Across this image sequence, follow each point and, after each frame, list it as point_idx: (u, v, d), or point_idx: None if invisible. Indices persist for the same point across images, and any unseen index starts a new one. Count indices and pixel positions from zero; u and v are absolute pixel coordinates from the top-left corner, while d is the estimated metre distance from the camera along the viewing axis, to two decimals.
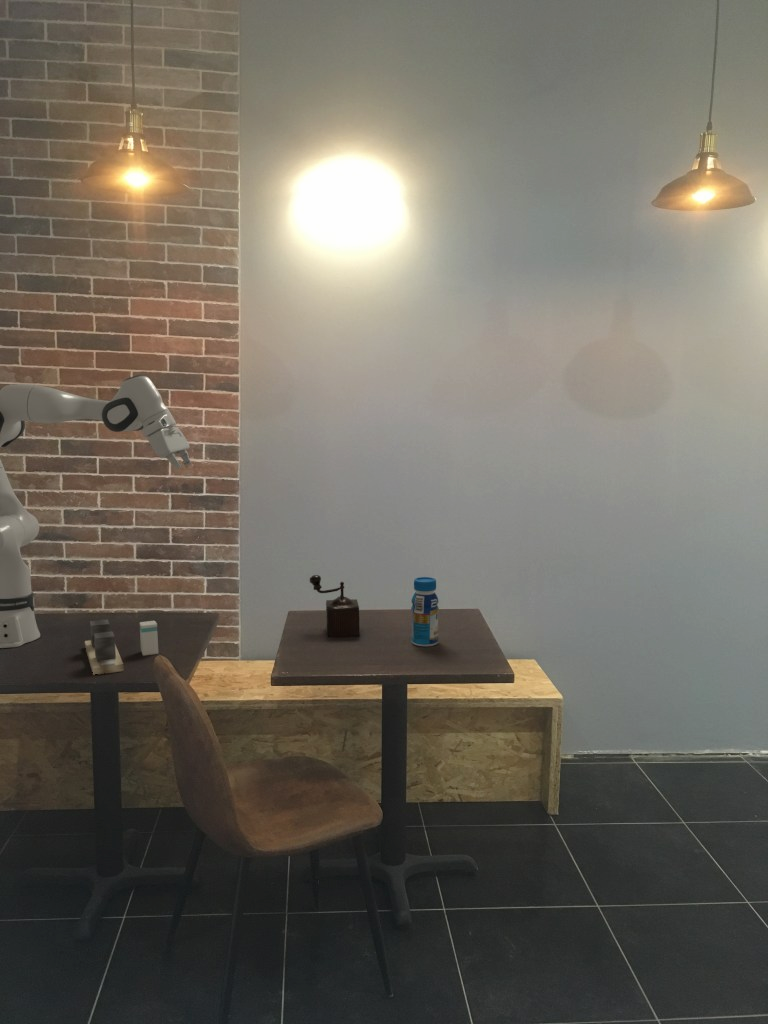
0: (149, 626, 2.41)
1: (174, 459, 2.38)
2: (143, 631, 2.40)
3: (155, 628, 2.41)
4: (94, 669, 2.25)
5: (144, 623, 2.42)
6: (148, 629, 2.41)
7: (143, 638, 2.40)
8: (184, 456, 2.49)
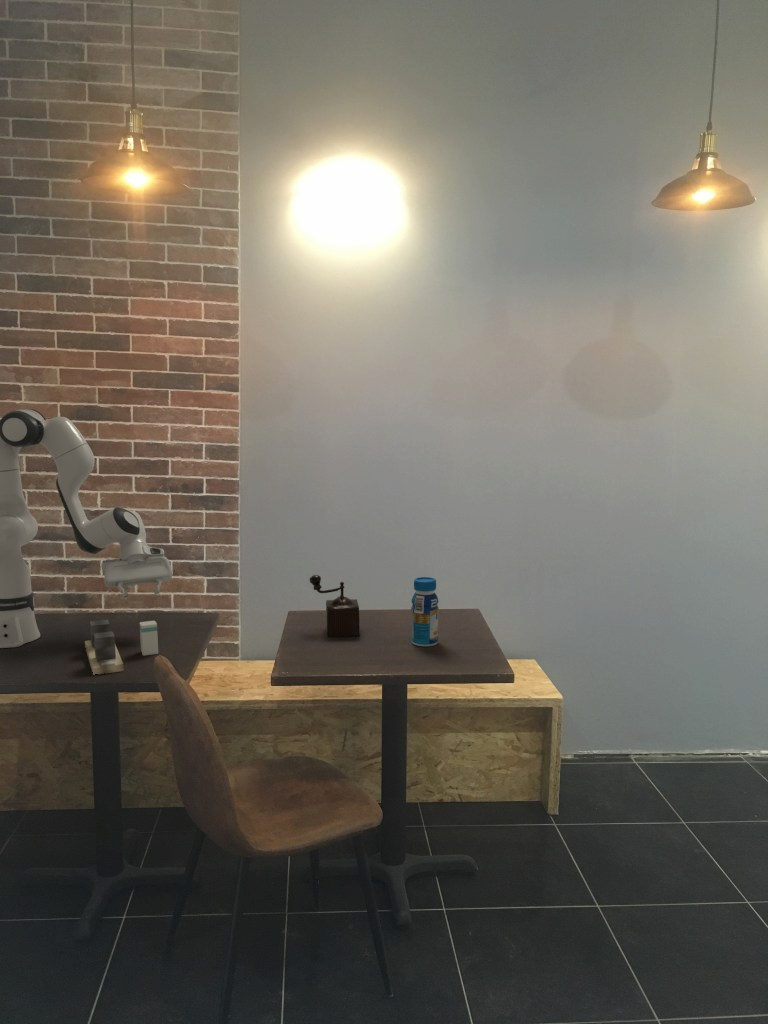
0: (149, 626, 2.41)
1: None
2: (143, 631, 2.40)
3: (155, 628, 2.41)
4: (94, 669, 2.25)
5: (144, 623, 2.42)
6: (148, 629, 2.41)
7: (143, 638, 2.40)
8: None
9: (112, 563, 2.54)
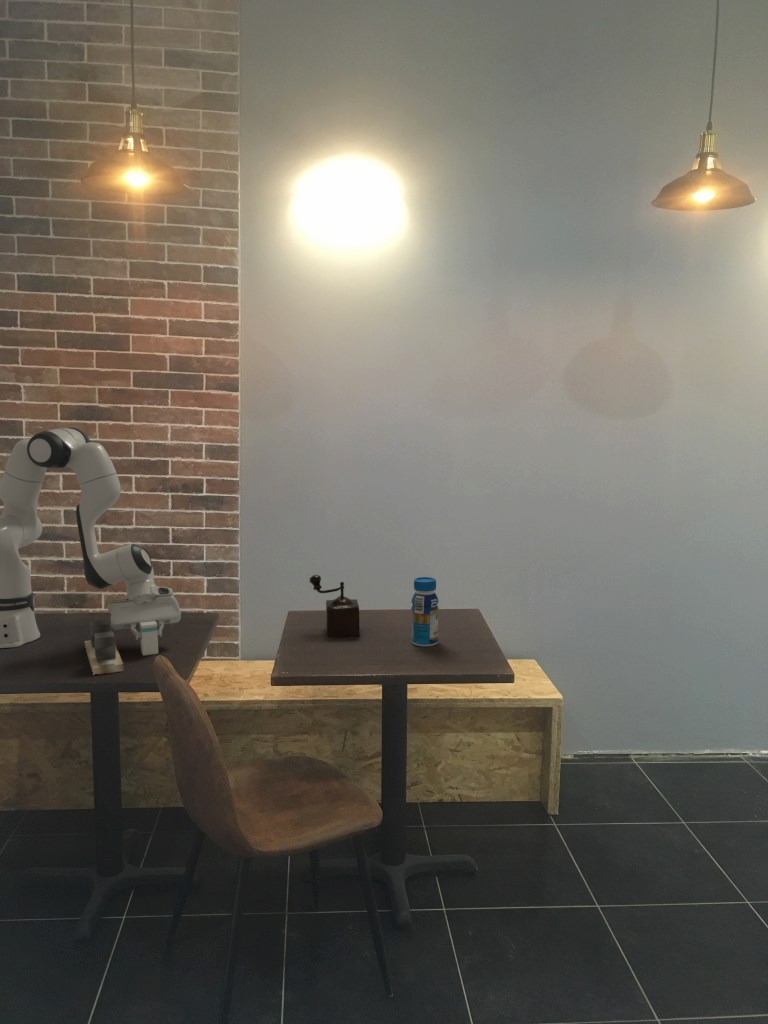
0: (149, 626, 2.41)
1: (162, 628, 2.46)
2: (143, 631, 2.40)
3: (155, 628, 2.41)
4: (94, 669, 2.25)
5: (144, 623, 2.42)
6: (148, 629, 2.41)
7: (143, 638, 2.40)
8: None
9: (119, 604, 2.44)
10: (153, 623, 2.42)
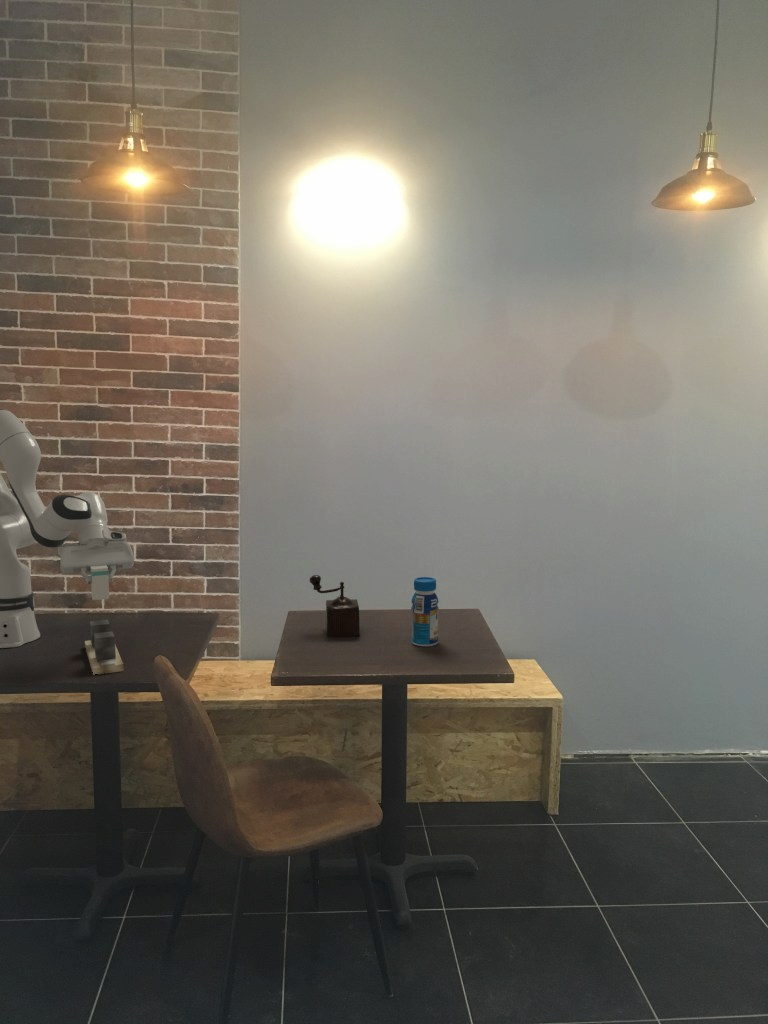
0: (99, 570, 2.33)
1: (114, 573, 2.38)
2: (93, 575, 2.32)
3: (105, 572, 2.33)
4: (94, 669, 2.25)
5: (95, 567, 2.34)
6: (98, 573, 2.33)
7: (93, 582, 2.32)
8: None
9: (69, 548, 2.36)
10: (104, 567, 2.34)
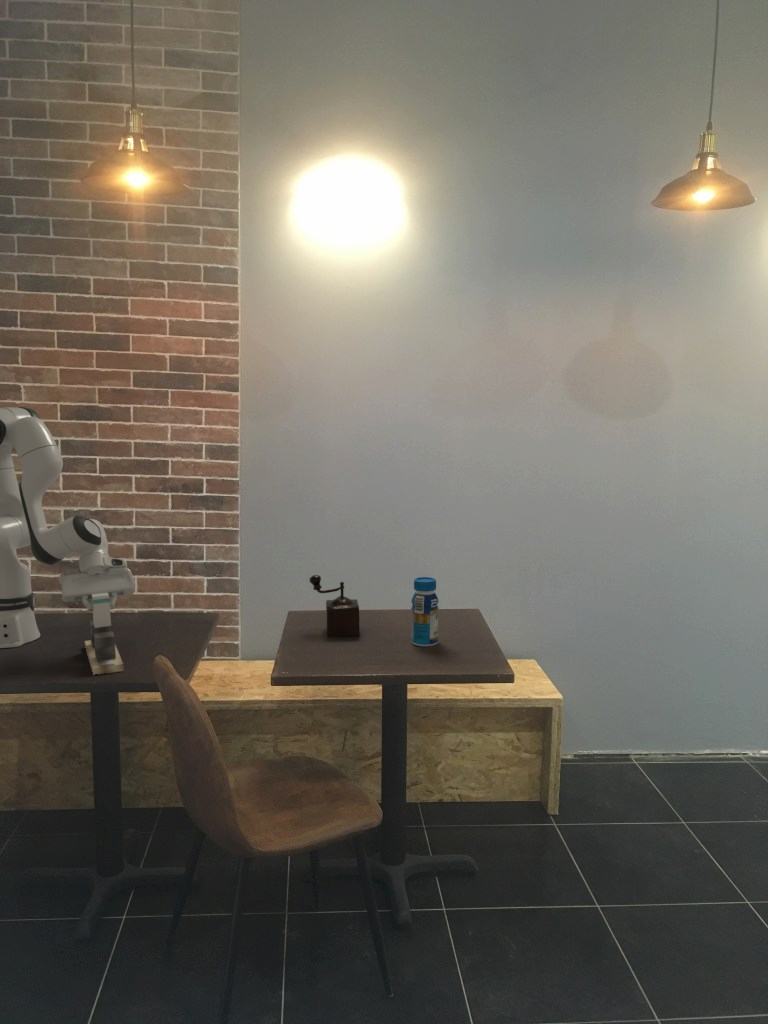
0: (100, 597, 2.33)
1: (115, 600, 2.39)
2: (94, 602, 2.33)
3: (106, 599, 2.34)
4: (94, 669, 2.25)
5: (96, 594, 2.35)
6: (99, 601, 2.33)
7: (94, 610, 2.33)
8: None
9: (70, 576, 2.37)
10: (105, 594, 2.35)
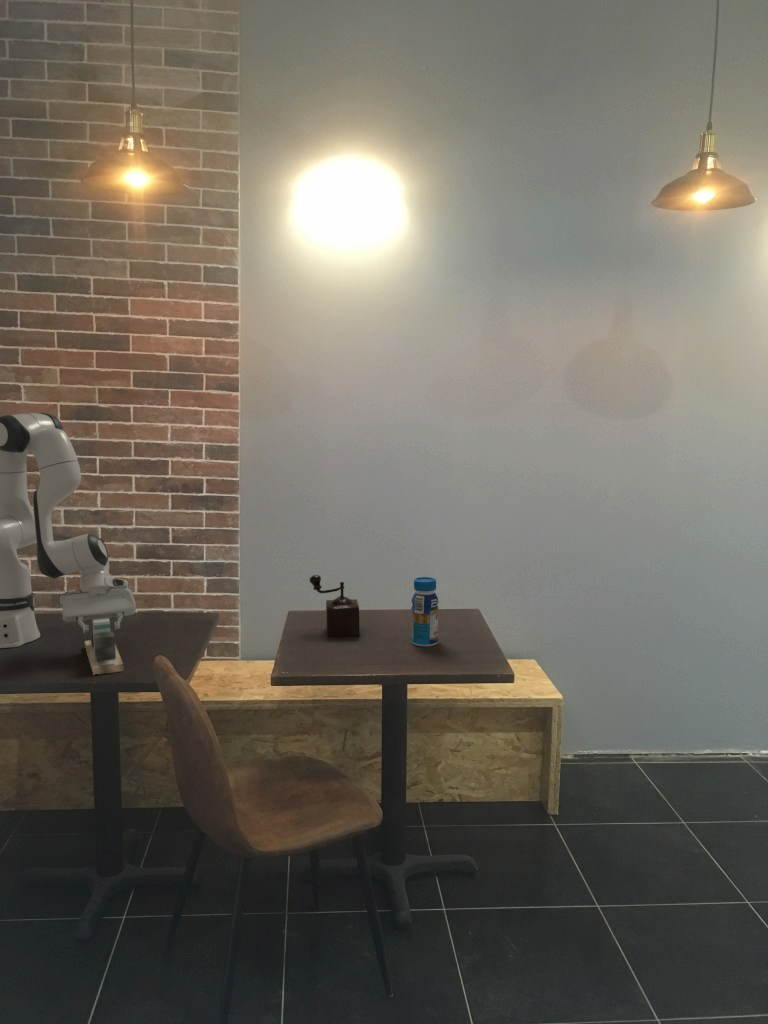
0: (102, 623, 2.35)
1: None
2: (95, 628, 2.34)
3: (107, 625, 2.36)
4: (94, 669, 2.25)
5: (97, 620, 2.36)
6: (100, 627, 2.35)
7: None
8: None
9: (71, 596, 2.38)
10: (106, 620, 2.36)
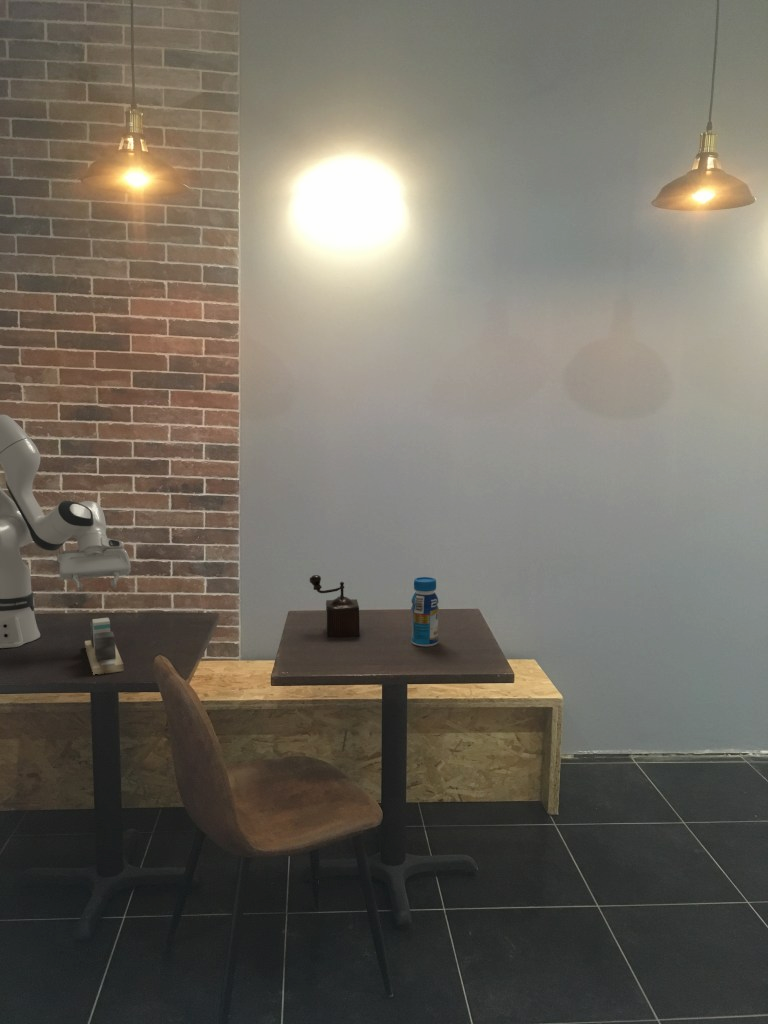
0: (101, 623, 2.35)
1: (117, 579, 2.48)
2: (95, 628, 2.34)
3: (107, 625, 2.36)
4: (94, 669, 2.25)
5: (97, 620, 2.36)
6: (100, 627, 2.35)
7: None
8: None
9: (68, 554, 2.45)
10: (106, 620, 2.36)
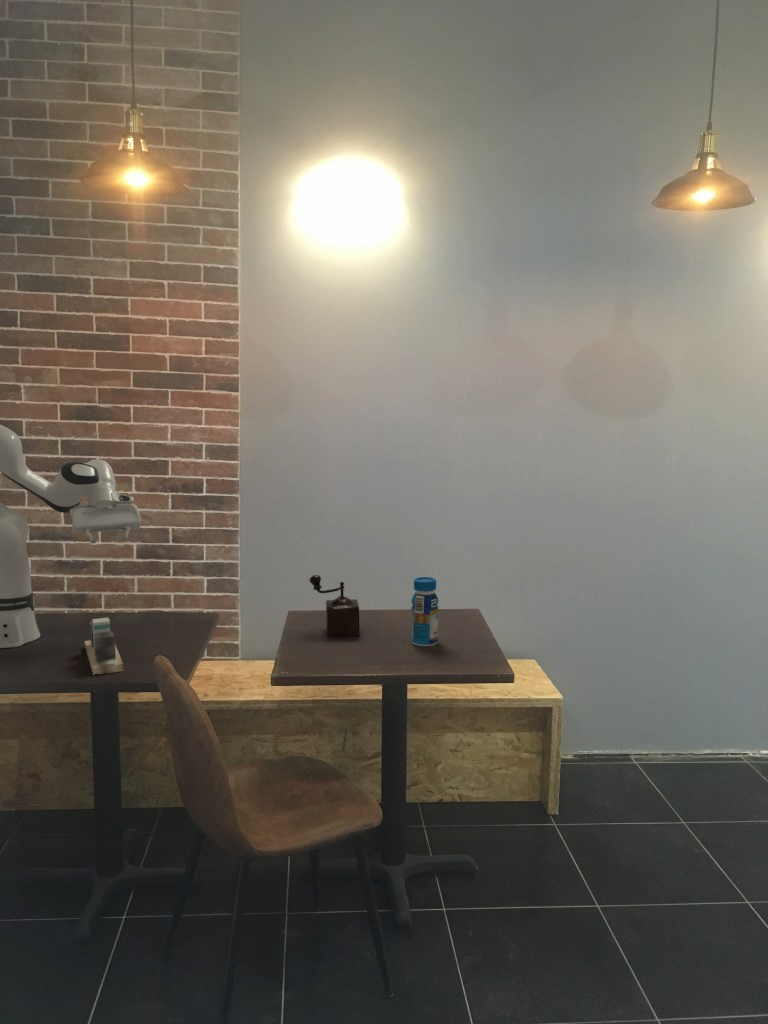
0: (101, 623, 2.35)
1: (128, 533, 2.55)
2: (95, 628, 2.34)
3: (107, 625, 2.36)
4: (94, 669, 2.25)
5: (97, 620, 2.36)
6: (100, 627, 2.35)
7: None
8: None
9: (80, 509, 2.52)
10: (106, 620, 2.36)
